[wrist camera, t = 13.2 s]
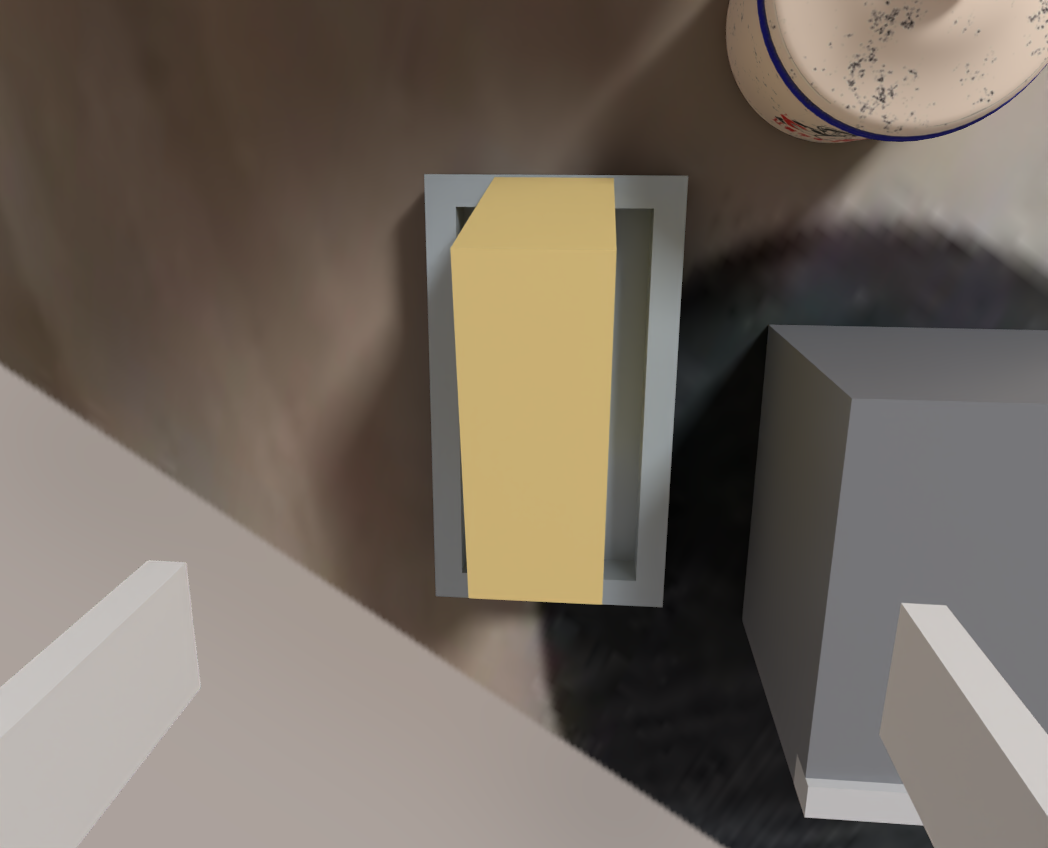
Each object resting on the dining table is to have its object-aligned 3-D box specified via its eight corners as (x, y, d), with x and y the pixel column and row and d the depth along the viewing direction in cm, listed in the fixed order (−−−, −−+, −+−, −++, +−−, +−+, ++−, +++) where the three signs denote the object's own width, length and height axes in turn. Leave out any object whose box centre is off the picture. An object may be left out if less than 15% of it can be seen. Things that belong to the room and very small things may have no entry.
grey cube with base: (769, 324, 35) (855, 402, 23) (1118, 331, 34) (1403, 417, 22) (741, 620, 39) (804, 817, 27) (1054, 635, 38) (1264, 848, 26)
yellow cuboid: (494, 177, 31) (450, 247, 23) (613, 177, 31) (616, 250, 22) (501, 453, 37) (468, 598, 28) (603, 457, 37) (602, 604, 28)
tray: (437, 174, 35) (424, 174, 32) (681, 175, 34) (688, 175, 31) (446, 567, 40) (435, 596, 37) (658, 577, 39) (662, 607, 36)
